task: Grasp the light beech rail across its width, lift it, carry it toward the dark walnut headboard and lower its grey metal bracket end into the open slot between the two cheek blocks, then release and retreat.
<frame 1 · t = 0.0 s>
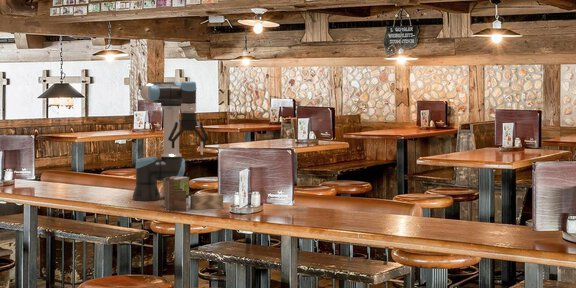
hand: (188, 154, 445), 28 cm above the table, fingers open, 13 cm apart
tea box: (175, 205, 466), on the table
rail: (206, 208, 455), on the table
headboard: (177, 209, 450), on the table
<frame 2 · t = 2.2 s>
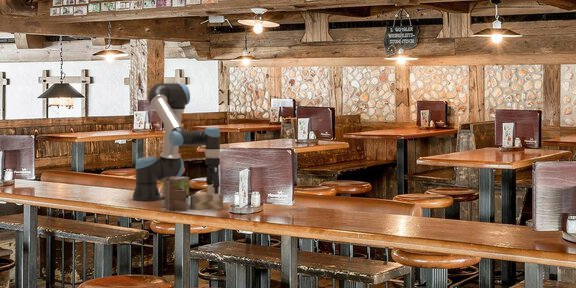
hand: (212, 198, 455), 5 cm above the table, fingers open, 13 cm apart
nothing on the table moved.
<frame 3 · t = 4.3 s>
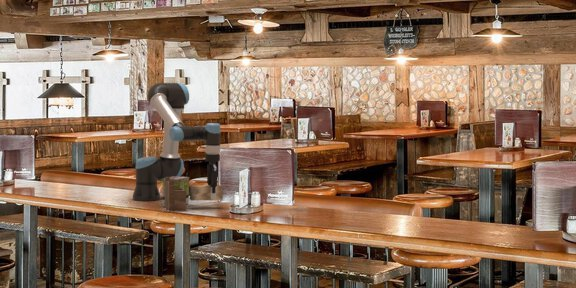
hand: (211, 198, 456), 5 cm above the table, fingers closed on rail, 5 cm apart
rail: (206, 199, 455), point 4 cm above the table, touching gripper
everything else where it was.
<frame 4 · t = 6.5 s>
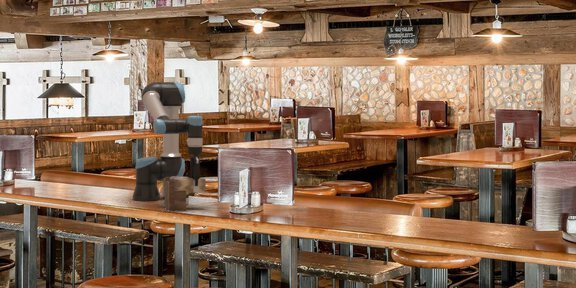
hand: (194, 191, 453), 9 cm above the table, fingers closed on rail, 5 cm apart
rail: (189, 192, 452), point 8 cm above the table, touching gripper
everything else where it was.
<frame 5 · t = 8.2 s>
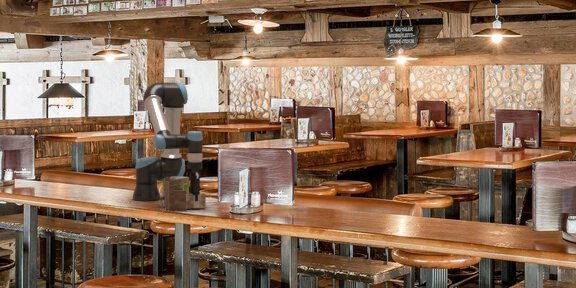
hand: (194, 206, 453), 1 cm above the table, fingers closed on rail, 5 cm apart
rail: (189, 207, 452), point 1 cm above the table, touching gripper
everything else where it was.
when the fingers open (0 cm above the table, at t = 8.8 s): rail stays where it is, on the table.
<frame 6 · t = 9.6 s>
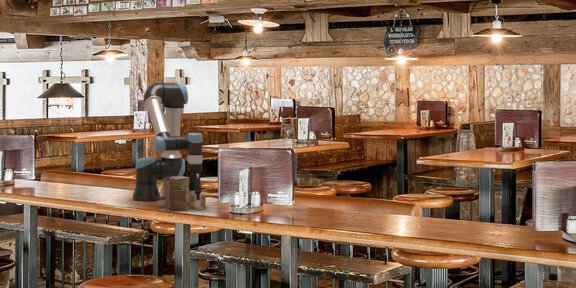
hand: (194, 205, 453), 2 cm above the table, fingers open, 13 cm apart
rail: (189, 209, 452), on the table
everything else where it was.
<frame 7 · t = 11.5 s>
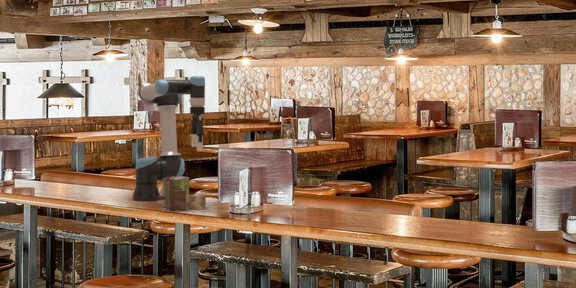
hand: (197, 147, 456), 31 cm above the table, fingers open, 13 cm apart
nothing on the table moved.
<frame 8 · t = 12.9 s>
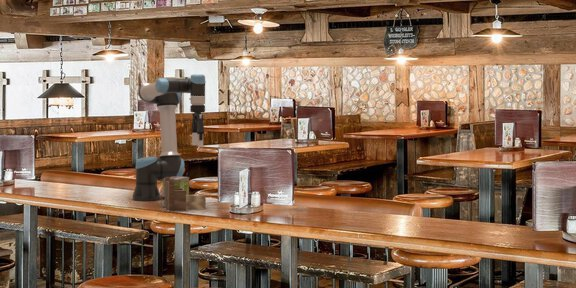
hand: (197, 146, 456), 32 cm above the table, fingers open, 13 cm apart
nothing on the table moved.
at the end: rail 1.0 cm from the target spot on the table beside the headboard, on the table; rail tilted 0°; the gripper is holding nothing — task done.
